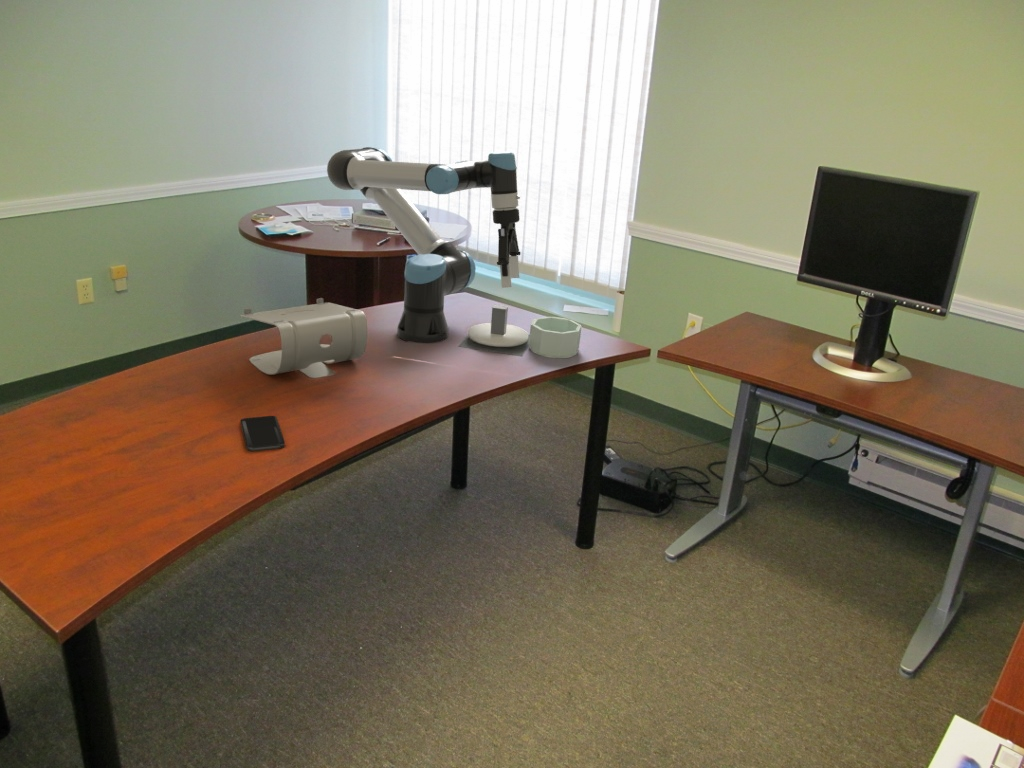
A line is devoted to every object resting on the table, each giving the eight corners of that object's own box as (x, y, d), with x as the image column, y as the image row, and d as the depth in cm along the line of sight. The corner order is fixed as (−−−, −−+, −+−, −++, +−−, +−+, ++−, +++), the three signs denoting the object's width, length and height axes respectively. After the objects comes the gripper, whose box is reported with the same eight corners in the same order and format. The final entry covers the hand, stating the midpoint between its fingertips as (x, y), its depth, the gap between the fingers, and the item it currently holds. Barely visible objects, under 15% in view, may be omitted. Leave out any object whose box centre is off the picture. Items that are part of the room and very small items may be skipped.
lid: (460, 345, 237) (461, 311, 233) (476, 327, 253) (478, 294, 249) (520, 355, 233) (523, 320, 229) (533, 335, 250) (536, 302, 246)
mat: (457, 347, 236) (457, 346, 236) (475, 327, 254) (475, 326, 253) (521, 357, 233) (521, 356, 233) (535, 336, 250) (535, 335, 250)
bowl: (525, 354, 235) (527, 328, 232) (535, 339, 248) (537, 314, 245) (573, 362, 233) (576, 335, 230) (580, 346, 245) (583, 321, 242)
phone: (247, 449, 170) (240, 418, 182) (247, 453, 170) (240, 422, 183) (286, 444, 173) (276, 415, 185) (286, 449, 173) (276, 419, 186)
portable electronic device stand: (279, 388, 201) (277, 328, 195) (240, 357, 217) (237, 301, 211) (370, 369, 216) (371, 313, 210) (328, 342, 233) (327, 289, 227)
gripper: (510, 213, 220) (516, 291, 226) (525, 202, 243) (530, 273, 249) (483, 214, 221) (489, 291, 228) (500, 204, 244) (506, 274, 251)
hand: (510, 282), depth 239 cm, fingers open, 13 cm apart
